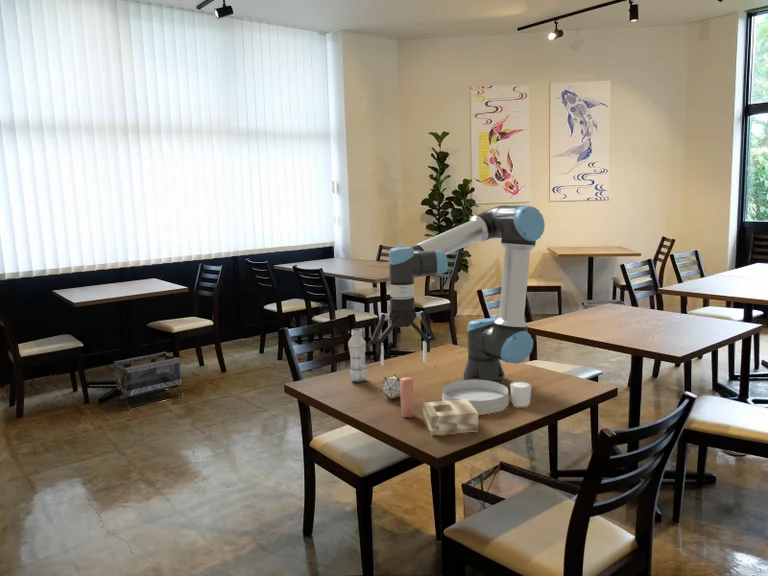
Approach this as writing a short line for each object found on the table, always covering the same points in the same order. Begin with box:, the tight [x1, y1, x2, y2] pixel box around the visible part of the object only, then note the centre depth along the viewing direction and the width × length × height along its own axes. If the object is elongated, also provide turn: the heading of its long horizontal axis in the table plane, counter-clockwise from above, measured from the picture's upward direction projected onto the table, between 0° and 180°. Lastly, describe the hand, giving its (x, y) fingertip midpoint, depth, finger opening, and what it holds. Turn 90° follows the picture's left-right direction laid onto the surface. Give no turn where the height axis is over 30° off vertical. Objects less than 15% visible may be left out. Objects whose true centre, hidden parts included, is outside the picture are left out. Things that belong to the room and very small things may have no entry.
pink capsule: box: [399, 376, 415, 418], centre depth 194 cm, size 4×4×12 cm
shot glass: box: [509, 381, 533, 406], centre depth 200 cm, size 7×7×7 cm
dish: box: [441, 379, 510, 413], centre depth 203 cm, size 22×22×5 cm
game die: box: [379, 373, 401, 402], centre depth 210 cm, size 9×8×10 cm
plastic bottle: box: [347, 328, 368, 383], centre depth 230 cm, size 6×7×20 cm
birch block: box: [422, 399, 479, 436], centre depth 184 cm, size 14×12×6 cm
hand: (403, 363), depth 192 cm, fingers open, 13 cm apart
